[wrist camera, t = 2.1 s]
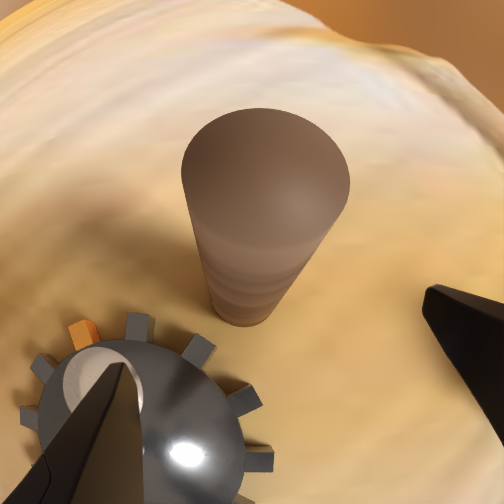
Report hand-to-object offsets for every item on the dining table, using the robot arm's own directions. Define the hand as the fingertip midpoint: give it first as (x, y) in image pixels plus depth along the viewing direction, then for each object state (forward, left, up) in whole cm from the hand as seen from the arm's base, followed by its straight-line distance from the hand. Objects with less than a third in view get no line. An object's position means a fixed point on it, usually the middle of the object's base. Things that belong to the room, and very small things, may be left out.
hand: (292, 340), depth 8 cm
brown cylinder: (+4, +1, -11) cm, 11 cm away
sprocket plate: (-6, +7, -11) cm, 14 cm away
